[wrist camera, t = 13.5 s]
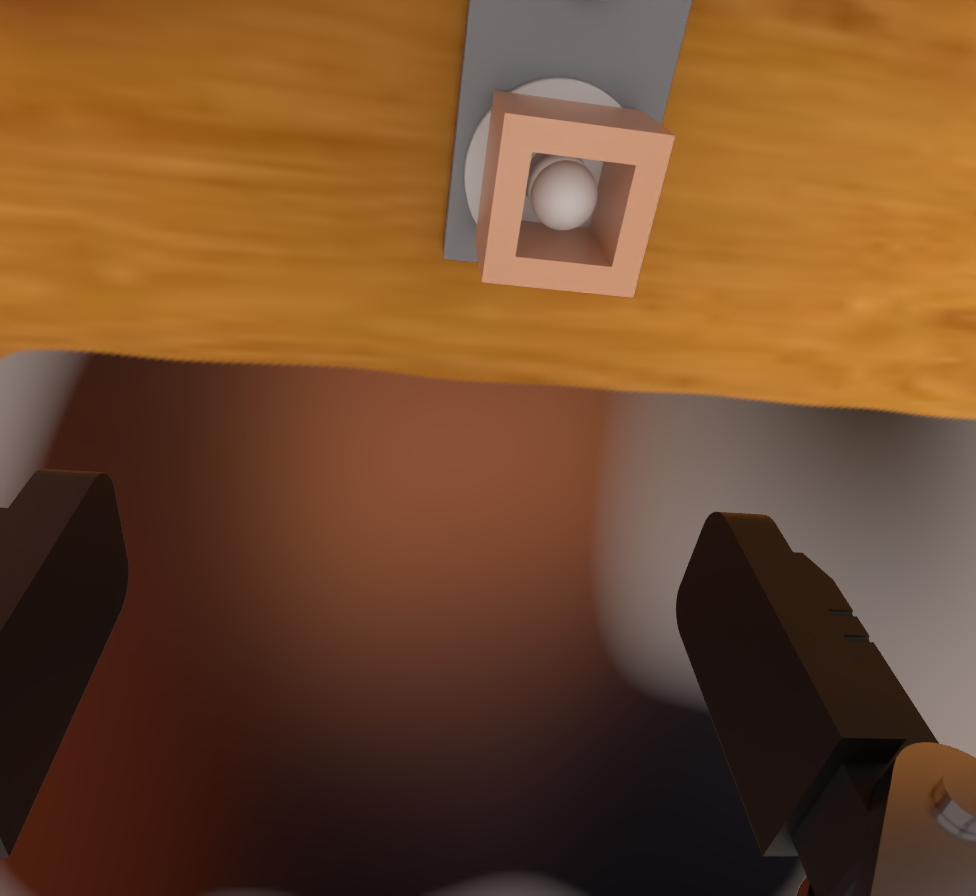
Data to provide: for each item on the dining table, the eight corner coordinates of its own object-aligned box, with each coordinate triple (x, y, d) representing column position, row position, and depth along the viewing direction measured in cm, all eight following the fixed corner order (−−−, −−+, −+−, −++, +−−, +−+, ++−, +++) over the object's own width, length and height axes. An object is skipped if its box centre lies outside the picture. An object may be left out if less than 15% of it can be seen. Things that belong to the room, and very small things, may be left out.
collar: (493, 90, 30) (504, 112, 26) (641, 110, 31) (675, 135, 27) (474, 241, 34) (481, 282, 30) (608, 255, 35) (632, 297, 31)
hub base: (488, -200, 27) (504, -235, 22) (718, -155, 28) (786, -179, 23) (442, 248, 36) (446, 299, 31) (616, 266, 38) (648, 319, 32)
